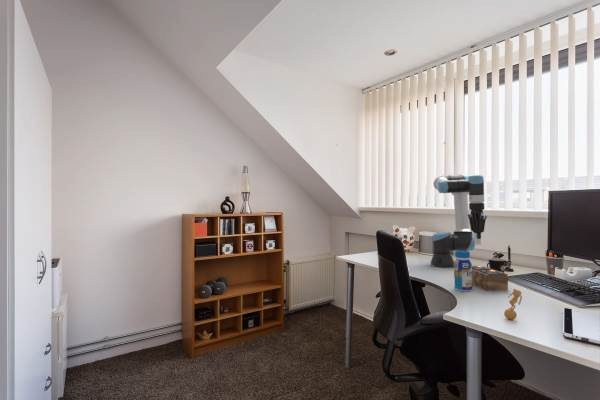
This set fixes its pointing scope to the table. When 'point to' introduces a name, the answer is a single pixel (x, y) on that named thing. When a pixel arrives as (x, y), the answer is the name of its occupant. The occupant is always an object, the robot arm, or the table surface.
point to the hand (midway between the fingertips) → (477, 244)
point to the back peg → (479, 267)
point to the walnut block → (489, 279)
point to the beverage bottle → (463, 271)
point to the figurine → (510, 312)
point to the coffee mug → (496, 264)
